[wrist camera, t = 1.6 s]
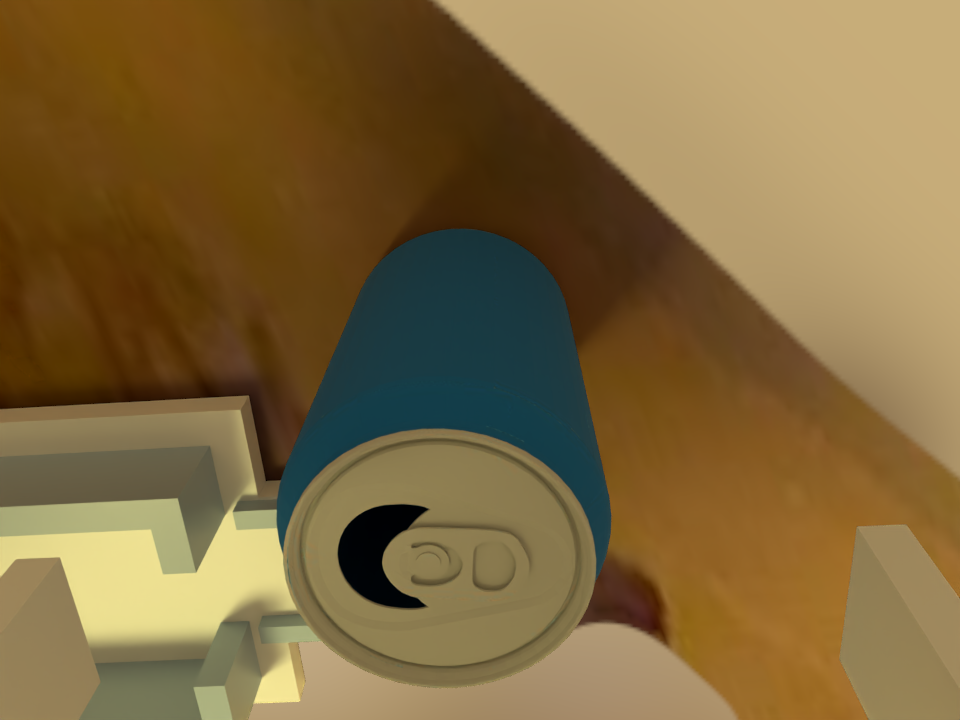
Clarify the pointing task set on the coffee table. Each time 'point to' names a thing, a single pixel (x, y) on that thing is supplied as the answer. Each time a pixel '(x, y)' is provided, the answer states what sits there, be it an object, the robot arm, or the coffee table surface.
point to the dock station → (159, 551)
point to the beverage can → (447, 471)
